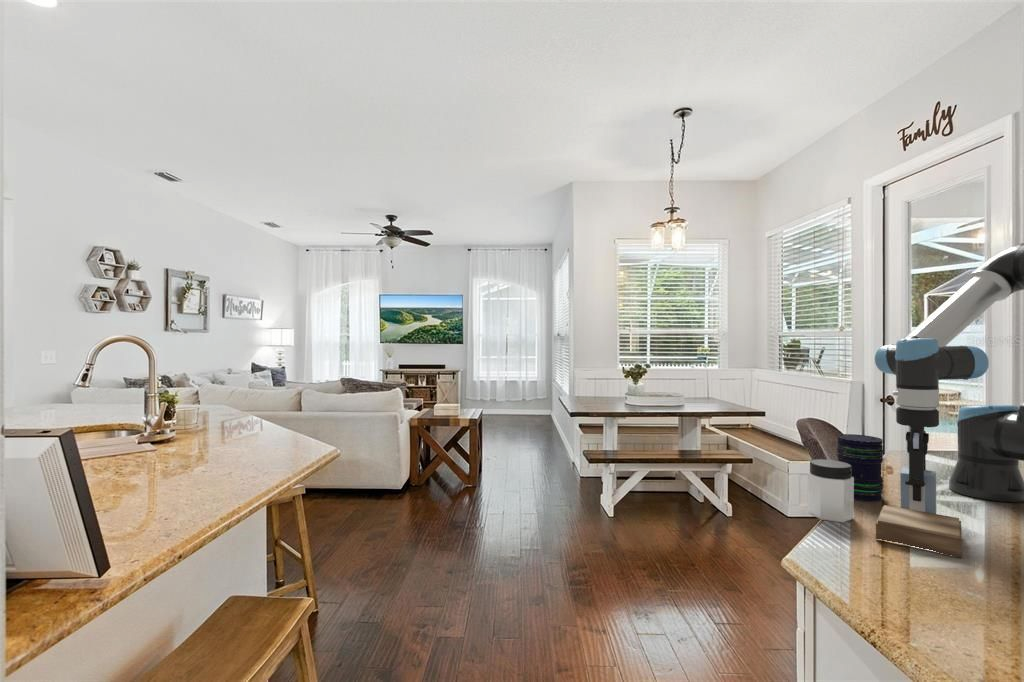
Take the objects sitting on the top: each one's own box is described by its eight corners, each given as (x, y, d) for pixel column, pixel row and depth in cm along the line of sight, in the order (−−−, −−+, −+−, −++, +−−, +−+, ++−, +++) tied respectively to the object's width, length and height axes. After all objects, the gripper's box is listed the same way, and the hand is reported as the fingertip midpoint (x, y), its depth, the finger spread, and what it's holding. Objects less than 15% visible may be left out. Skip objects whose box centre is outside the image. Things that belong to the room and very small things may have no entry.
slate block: (902, 506, 120) (902, 467, 120) (936, 511, 116) (936, 471, 116) (901, 513, 115) (900, 472, 115) (935, 518, 111) (935, 477, 111)
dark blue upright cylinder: (841, 499, 130) (841, 439, 130) (832, 488, 139) (832, 433, 139) (888, 504, 126) (889, 442, 126) (876, 492, 135) (876, 435, 135)
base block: (882, 522, 113) (882, 504, 113) (960, 537, 105) (961, 517, 105) (875, 540, 103) (875, 520, 103) (961, 558, 95) (961, 536, 95)
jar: (840, 525, 112) (840, 470, 112) (801, 514, 119) (801, 462, 118) (859, 517, 117) (859, 464, 117) (821, 507, 123) (821, 457, 123)
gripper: (899, 401, 125) (900, 496, 125) (892, 411, 111) (893, 519, 111) (939, 403, 120) (940, 502, 120) (937, 414, 106) (938, 527, 106)
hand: (918, 510), depth 116 cm, fingers closed on slate block, 6 cm apart
